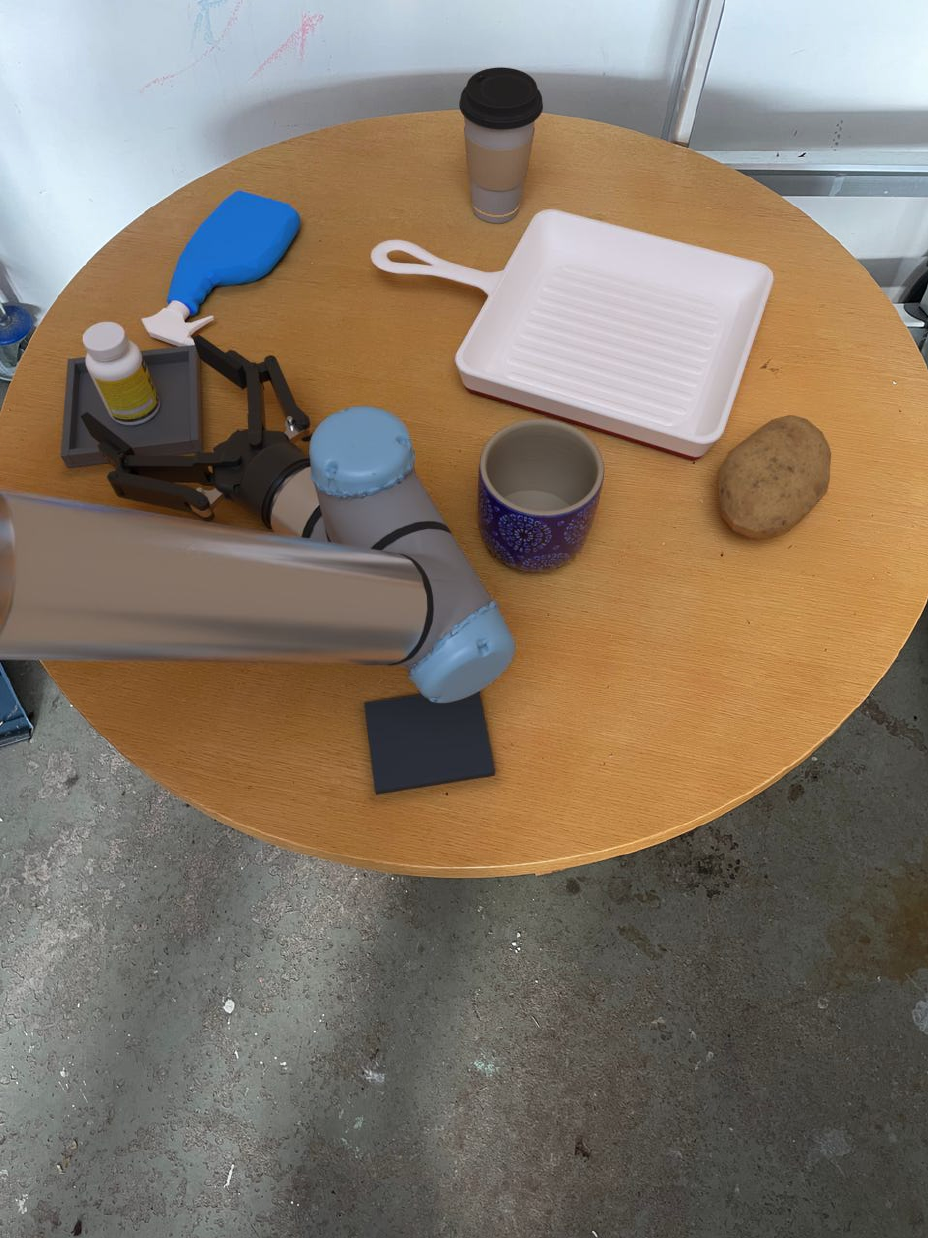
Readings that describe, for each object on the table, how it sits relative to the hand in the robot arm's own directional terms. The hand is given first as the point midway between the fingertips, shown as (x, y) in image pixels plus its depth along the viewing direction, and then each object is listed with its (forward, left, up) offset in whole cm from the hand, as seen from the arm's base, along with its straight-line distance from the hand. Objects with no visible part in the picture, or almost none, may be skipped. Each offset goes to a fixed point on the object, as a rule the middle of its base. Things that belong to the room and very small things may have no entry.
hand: (145, 383), depth 85 cm
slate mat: (+22, -39, -7) cm, 45 cm away
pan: (+43, +8, -7) cm, 44 cm away
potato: (+58, -20, -7) cm, 62 cm away
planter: (+35, -20, -7) cm, 41 cm away
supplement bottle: (-3, +3, -7) cm, 8 cm away
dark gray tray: (-3, +3, -7) cm, 8 cm away
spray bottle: (+7, +23, -7) cm, 25 cm away
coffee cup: (+41, +30, -7) cm, 52 cm away
